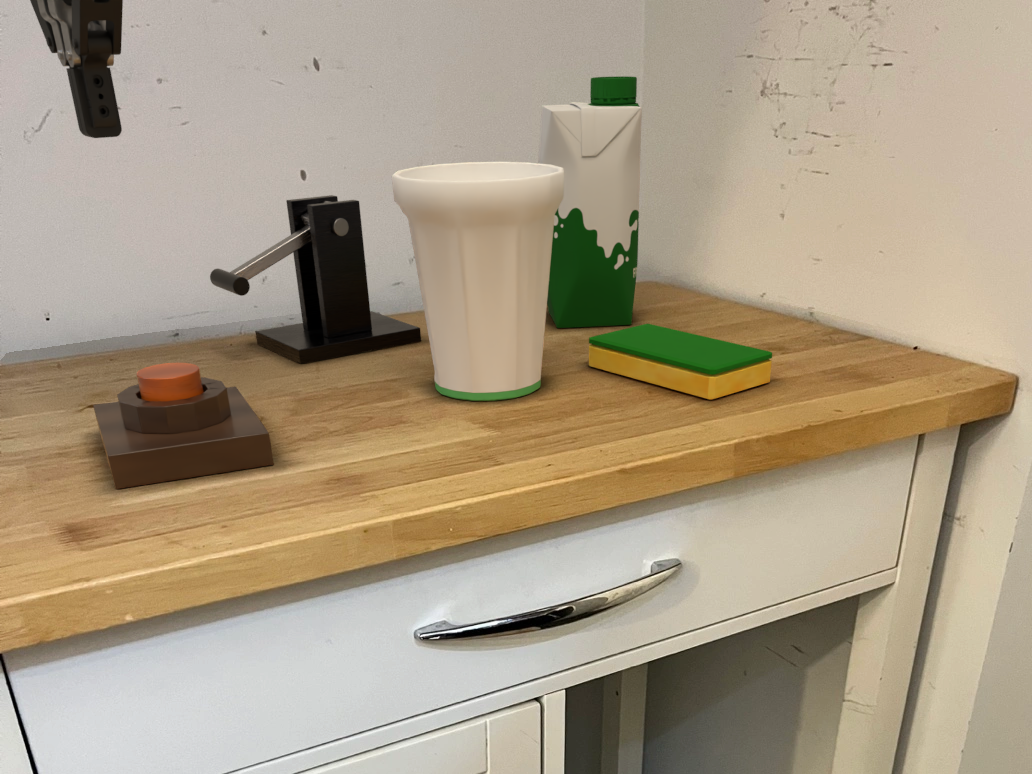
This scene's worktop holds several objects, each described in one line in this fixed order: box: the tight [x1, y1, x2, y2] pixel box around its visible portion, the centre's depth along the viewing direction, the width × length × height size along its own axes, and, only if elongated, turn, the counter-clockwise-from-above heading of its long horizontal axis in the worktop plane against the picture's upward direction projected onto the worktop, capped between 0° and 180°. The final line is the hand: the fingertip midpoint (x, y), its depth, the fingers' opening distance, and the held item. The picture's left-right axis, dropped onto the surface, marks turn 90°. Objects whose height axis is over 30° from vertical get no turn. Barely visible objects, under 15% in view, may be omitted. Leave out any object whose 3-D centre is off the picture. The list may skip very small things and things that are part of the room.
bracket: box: [254, 194, 422, 365], centre depth 96 cm, size 12×9×12 cm
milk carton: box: [537, 76, 643, 329], centre depth 100 cm, size 9×9×20 cm
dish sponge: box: [588, 323, 773, 401], centre depth 87 cm, size 7×14×2 cm, turn 40°
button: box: [136, 362, 204, 401], centre depth 72 cm, size 4×4×2 cm
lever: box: [209, 201, 329, 297], centre depth 92 cm, size 12×5×2 cm, turn 127°
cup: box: [391, 161, 564, 402], centre depth 82 cm, size 12×12×15 cm
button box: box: [93, 376, 275, 490], centre depth 74 cm, size 12×10×4 cm
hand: (102, 136), depth 68 cm, fingers closed
